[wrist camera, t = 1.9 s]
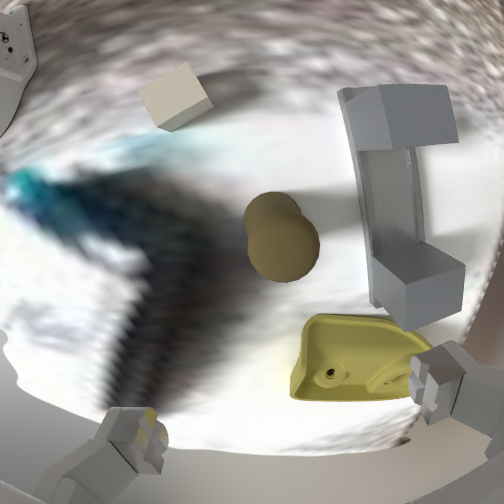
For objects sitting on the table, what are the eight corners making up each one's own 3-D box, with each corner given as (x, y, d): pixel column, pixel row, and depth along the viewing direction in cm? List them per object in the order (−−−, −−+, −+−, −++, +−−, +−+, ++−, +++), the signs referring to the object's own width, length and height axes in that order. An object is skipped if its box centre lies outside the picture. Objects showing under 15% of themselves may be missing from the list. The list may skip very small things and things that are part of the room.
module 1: (344, 102, 25) (378, 84, 17) (405, 98, 24) (448, 85, 17) (355, 151, 26) (392, 149, 19) (415, 143, 26) (461, 142, 18)
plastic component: (286, 399, 35) (303, 369, 28) (288, 352, 40) (303, 312, 33) (415, 397, 34) (454, 367, 27) (409, 356, 39) (441, 320, 33)
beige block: (154, 101, 26) (137, 91, 21) (196, 76, 25) (187, 61, 21) (171, 132, 27) (156, 127, 22) (214, 107, 26) (207, 96, 22)
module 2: (370, 255, 30) (405, 284, 22) (425, 240, 29) (467, 264, 22) (373, 296, 31) (404, 332, 23) (425, 280, 31) (463, 309, 23)
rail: (336, 92, 26) (342, 88, 24) (393, 88, 26) (401, 85, 24) (369, 301, 33) (375, 308, 31) (418, 286, 33) (425, 293, 31)
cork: (240, 194, 29) (235, 213, 19) (299, 189, 29) (329, 204, 18) (246, 252, 31) (246, 299, 20) (303, 246, 31) (331, 289, 20)
